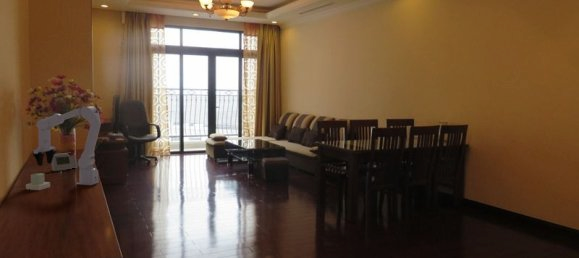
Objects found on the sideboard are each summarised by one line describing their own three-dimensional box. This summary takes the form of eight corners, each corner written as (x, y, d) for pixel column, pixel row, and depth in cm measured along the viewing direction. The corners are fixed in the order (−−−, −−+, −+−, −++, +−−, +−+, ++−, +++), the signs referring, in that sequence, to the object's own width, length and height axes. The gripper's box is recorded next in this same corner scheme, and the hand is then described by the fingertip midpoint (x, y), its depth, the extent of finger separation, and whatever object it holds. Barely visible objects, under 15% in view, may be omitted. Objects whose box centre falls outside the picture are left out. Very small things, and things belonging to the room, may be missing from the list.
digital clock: (51, 172, 267) (51, 155, 266) (48, 169, 274) (47, 153, 273) (79, 169, 278) (79, 153, 277) (75, 167, 285) (75, 151, 284)
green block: (44, 182, 229) (44, 173, 229) (38, 184, 225) (38, 175, 224) (36, 182, 230) (36, 173, 230) (30, 183, 226) (30, 174, 225)
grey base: (50, 187, 231) (50, 182, 231) (39, 191, 223) (39, 185, 223) (36, 186, 232) (36, 181, 232) (25, 190, 224) (25, 184, 224)
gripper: (46, 138, 246) (47, 161, 247) (28, 141, 231) (28, 166, 232) (58, 139, 245) (58, 162, 246) (40, 142, 230) (40, 167, 232)
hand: (44, 164), depth 239 cm, fingers open, 7 cm apart
